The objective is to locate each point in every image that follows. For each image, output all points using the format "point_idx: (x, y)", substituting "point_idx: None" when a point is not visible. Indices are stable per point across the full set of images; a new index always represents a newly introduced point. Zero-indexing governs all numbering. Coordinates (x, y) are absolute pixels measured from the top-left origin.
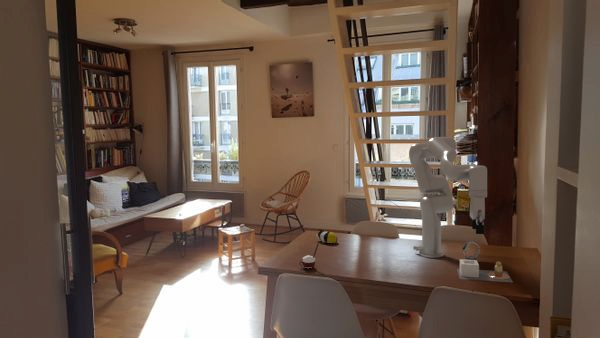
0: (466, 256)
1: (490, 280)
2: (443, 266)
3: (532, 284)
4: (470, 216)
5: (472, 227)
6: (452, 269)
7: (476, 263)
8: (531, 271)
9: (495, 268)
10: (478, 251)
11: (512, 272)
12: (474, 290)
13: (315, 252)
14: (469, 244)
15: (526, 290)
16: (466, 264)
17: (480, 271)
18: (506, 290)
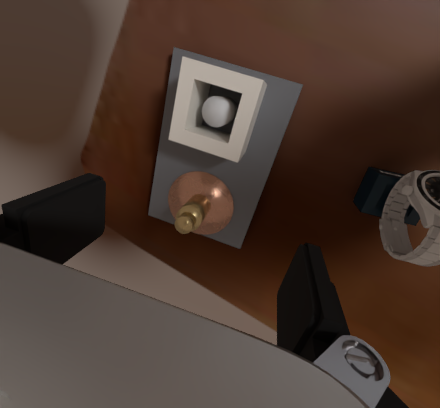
0: (402, 179)
1: (159, 158)
2: (400, 43)
3: (165, 259)
4: (217, 331)
5: (307, 250)
6: (339, 76)
7: (190, 138)
8: (261, 315)
9: (188, 203)
10: (386, 241)
11: (260, 270)
12: (107, 76)
13: None
14: (423, 216)
15: (124, 222)
16: (178, 83)
17: (250, 169)
18: (119, 175)
